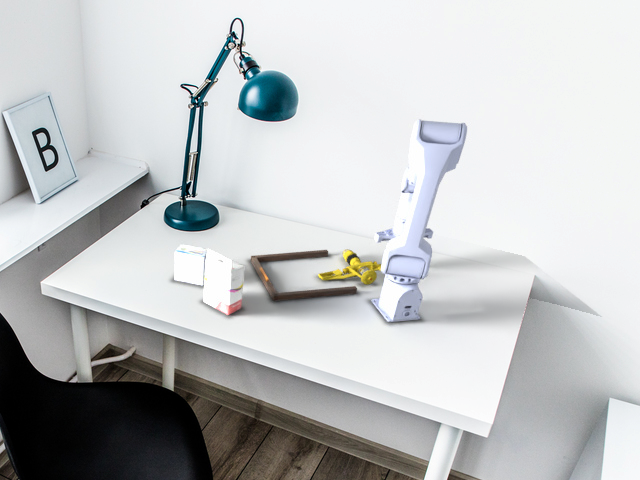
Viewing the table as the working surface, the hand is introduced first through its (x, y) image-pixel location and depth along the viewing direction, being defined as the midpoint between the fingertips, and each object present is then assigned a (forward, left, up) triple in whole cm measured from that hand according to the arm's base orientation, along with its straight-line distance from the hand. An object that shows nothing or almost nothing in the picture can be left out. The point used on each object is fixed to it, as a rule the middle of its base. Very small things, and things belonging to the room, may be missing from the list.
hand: (396, 263), depth 170 cm
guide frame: (0, +25, -1) cm, 25 cm away
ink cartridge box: (-10, +49, -2) cm, 50 cm away
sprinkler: (0, +12, -2) cm, 12 cm away
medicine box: (+3, +54, -2) cm, 54 cm away
